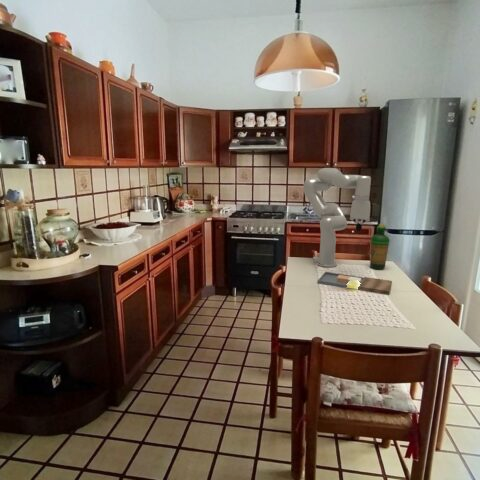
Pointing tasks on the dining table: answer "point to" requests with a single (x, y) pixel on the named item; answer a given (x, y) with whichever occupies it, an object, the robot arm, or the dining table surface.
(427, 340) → the dining table surface
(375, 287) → the walnut board
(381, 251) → the bottle
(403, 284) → the dining table surface
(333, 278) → the box
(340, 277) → the terracotta tile
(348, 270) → the dining table surface
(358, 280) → the cream tile
